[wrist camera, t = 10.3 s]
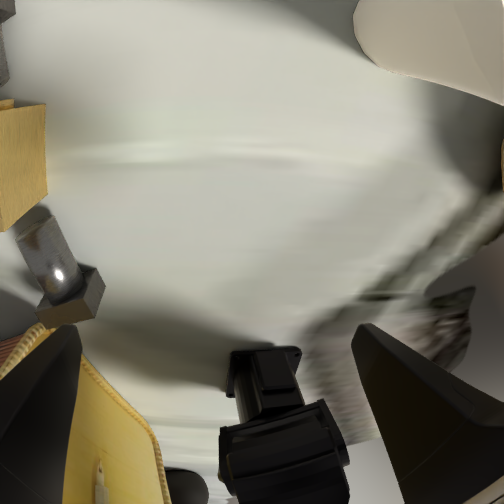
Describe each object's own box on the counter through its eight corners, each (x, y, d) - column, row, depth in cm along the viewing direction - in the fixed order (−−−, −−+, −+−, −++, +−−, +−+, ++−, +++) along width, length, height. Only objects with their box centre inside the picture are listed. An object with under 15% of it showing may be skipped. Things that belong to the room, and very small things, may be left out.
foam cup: (305, -10, 14) (445, -95, 2) (404, -33, 13) (540, -65, 1) (371, 113, 18) (538, 164, 7) (453, 73, 17) (594, 102, 6)
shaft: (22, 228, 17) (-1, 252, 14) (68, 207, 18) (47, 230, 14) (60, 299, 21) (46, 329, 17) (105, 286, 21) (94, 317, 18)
